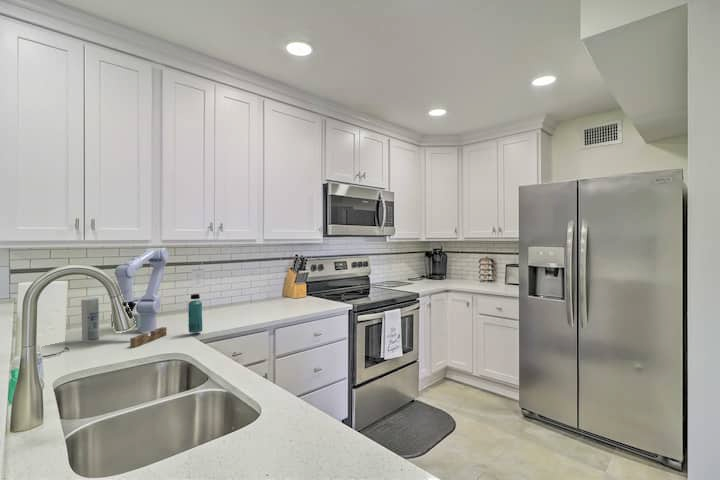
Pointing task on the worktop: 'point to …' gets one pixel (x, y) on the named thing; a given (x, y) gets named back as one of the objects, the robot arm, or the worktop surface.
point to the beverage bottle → (195, 315)
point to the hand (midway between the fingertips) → (125, 319)
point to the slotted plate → (137, 319)
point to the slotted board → (147, 337)
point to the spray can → (90, 319)
